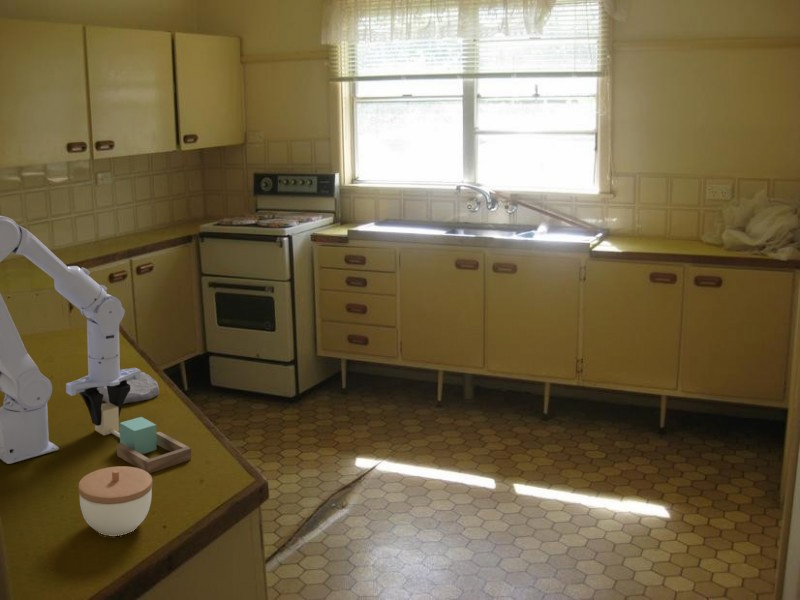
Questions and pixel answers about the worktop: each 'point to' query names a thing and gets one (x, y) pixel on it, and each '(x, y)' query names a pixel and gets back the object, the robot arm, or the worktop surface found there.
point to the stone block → (137, 389)
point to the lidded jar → (115, 499)
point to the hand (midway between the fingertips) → (105, 421)
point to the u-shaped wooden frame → (175, 456)
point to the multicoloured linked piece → (128, 429)
